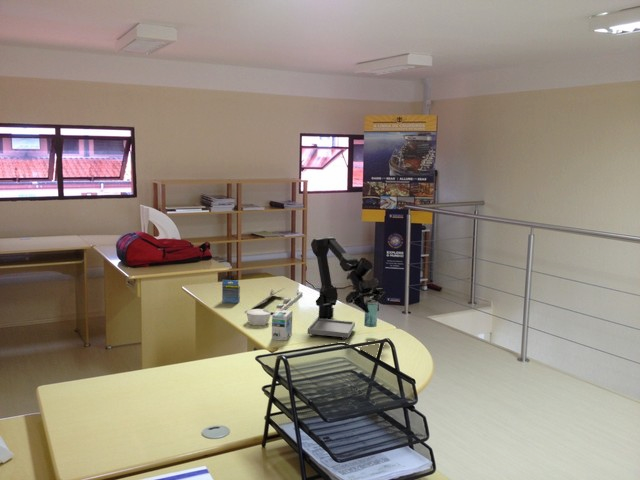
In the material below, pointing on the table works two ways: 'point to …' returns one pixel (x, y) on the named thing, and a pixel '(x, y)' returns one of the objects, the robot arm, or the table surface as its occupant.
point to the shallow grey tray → (331, 328)
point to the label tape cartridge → (230, 291)
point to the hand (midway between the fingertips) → (373, 311)
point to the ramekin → (258, 316)
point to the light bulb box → (281, 324)
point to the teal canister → (371, 313)
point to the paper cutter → (286, 300)
